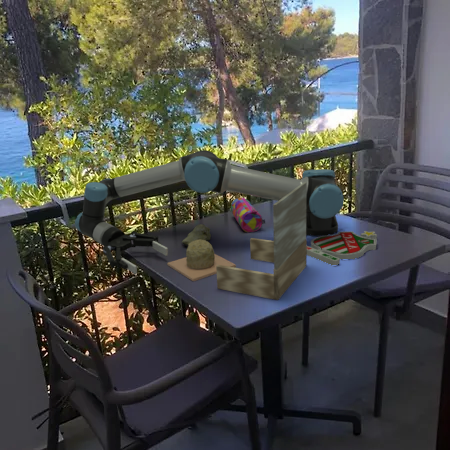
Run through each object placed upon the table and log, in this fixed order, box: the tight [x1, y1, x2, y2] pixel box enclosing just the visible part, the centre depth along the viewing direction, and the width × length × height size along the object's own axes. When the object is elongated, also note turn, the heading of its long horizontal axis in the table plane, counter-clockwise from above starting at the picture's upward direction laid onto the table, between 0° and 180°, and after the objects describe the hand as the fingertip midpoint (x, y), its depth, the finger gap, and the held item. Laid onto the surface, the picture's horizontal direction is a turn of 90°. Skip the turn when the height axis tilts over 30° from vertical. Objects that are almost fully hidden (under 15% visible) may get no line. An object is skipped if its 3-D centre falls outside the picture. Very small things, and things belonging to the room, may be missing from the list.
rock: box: [181, 223, 212, 247], centre depth 172 cm, size 11×6×10 cm
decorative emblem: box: [307, 230, 378, 266], centre depth 162 cm, size 19×2×30 cm
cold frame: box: [216, 182, 308, 301], centre depth 138 cm, size 19×24×27 cm
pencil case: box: [230, 197, 266, 233], centre depth 188 cm, size 22×9×9 cm, turn 13°
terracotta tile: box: [166, 253, 237, 282], centre depth 152 cm, size 16×16×1 cm
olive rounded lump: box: [185, 239, 215, 269], centre depth 151 cm, size 9×10×10 cm
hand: (152, 260), depth 152 cm, fingers open, 13 cm apart
